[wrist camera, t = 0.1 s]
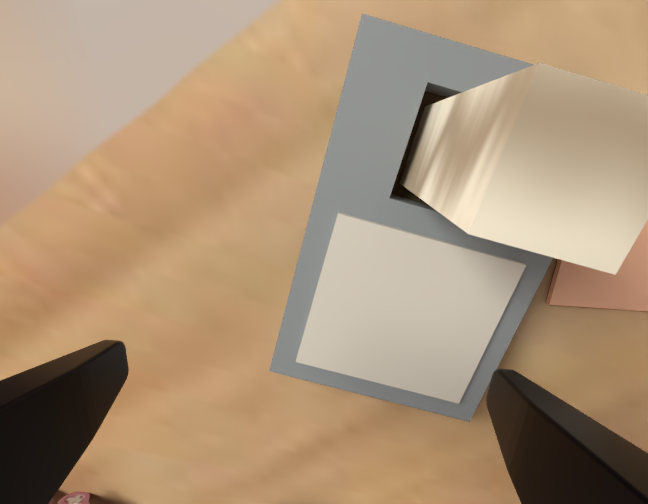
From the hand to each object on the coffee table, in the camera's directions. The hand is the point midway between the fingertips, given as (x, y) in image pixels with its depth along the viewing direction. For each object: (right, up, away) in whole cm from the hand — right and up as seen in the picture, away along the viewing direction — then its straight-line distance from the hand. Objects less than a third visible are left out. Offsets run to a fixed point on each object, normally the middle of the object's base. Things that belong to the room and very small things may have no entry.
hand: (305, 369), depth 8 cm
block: (+8, +9, +12) cm, 17 cm away
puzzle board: (+6, +4, +14) cm, 16 cm away
